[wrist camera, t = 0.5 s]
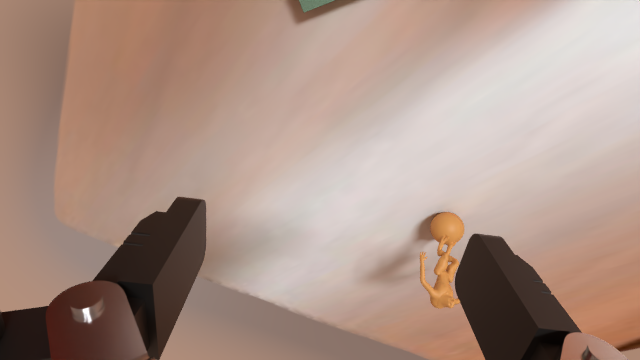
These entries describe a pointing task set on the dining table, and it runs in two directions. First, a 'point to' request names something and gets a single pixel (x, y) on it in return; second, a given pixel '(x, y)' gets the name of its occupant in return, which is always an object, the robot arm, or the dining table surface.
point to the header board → (312, 4)
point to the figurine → (443, 259)
